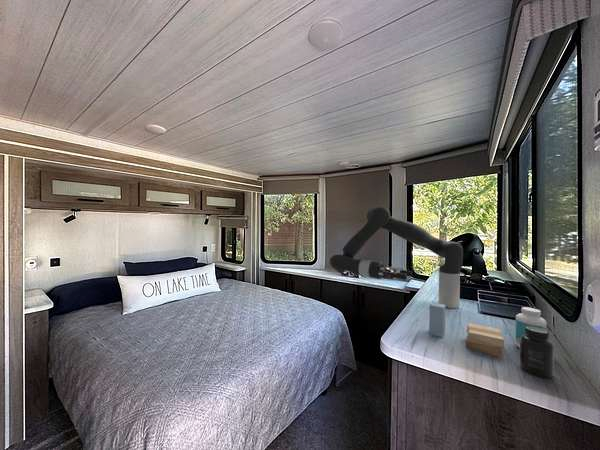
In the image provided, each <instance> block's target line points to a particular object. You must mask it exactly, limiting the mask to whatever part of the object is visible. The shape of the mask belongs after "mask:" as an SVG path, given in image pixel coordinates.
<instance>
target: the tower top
mask: <svg viewBox="0 0 600 450" xmlns="http://www.w3.org/2000/svg"><path fill="white" fill-rule="evenodd" d="M466 334H467V335H468V339H469V341H471V342H475V343H479V344H484V345H488V346H492V347H496V348H501V350H504V349H505V338H504V337H503V334H502V333H501V330H500V329H499V328H495V327H489V326H484V325H481V324H474V323H470V322H469V323H468V322H467V323H466Z"/></svg>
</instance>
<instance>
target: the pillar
mask: <svg viewBox="0 0 600 450" xmlns="http://www.w3.org/2000/svg"><path fill="white" fill-rule="evenodd" d="M446 308H447V307H446V305H444V304H439V303H438V302H435V301H434V302H433V301H432V302H430V304H429V322H428V323H429V326H428V330H429V331H428V333H429V335H432V336H435V337H439V338H443V339H444V337H445V335H446V310H447V309H446Z"/></svg>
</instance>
